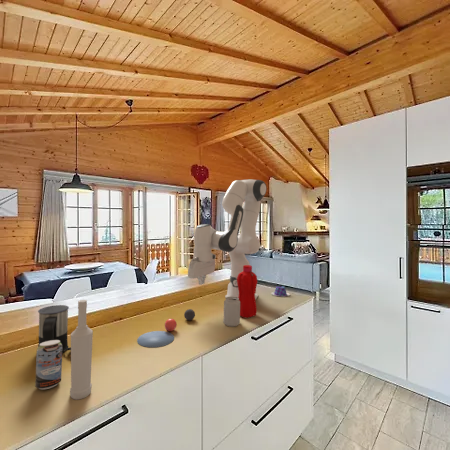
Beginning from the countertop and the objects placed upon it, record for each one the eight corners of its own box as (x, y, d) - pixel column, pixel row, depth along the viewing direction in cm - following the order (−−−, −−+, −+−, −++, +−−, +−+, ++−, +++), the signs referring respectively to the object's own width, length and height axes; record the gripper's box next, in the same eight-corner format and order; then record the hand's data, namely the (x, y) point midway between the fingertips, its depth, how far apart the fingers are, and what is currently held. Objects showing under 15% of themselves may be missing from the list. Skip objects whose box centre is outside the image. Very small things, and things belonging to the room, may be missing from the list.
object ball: (169, 327, 117) (169, 316, 116) (178, 329, 114) (179, 318, 114) (161, 331, 112) (162, 319, 112) (171, 334, 110) (171, 322, 110)
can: (238, 328, 118) (239, 301, 118) (221, 326, 119) (222, 299, 119) (240, 321, 125) (241, 296, 125) (225, 320, 127) (225, 295, 127)
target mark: (154, 328, 115) (154, 328, 115) (181, 336, 108) (181, 335, 108) (129, 341, 102) (129, 341, 102) (157, 350, 96) (157, 350, 96)
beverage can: (35, 396, 70) (35, 351, 70) (35, 382, 76) (35, 340, 76) (63, 388, 74) (63, 345, 74) (60, 375, 80) (61, 335, 80)
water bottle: (247, 320, 127) (249, 268, 126) (233, 313, 136) (234, 264, 135) (261, 317, 132) (263, 266, 132) (247, 310, 141) (248, 263, 141)
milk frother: (35, 349, 95) (36, 307, 94) (85, 337, 105) (85, 299, 104) (40, 367, 84) (41, 320, 83) (94, 352, 94) (95, 310, 94)
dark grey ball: (188, 317, 129) (188, 307, 129) (196, 319, 127) (197, 308, 127) (181, 320, 125) (182, 310, 124) (190, 322, 122) (191, 312, 122)
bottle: (66, 395, 71) (67, 301, 70) (85, 385, 75) (86, 296, 75) (76, 402, 68) (77, 305, 68) (95, 392, 72) (97, 300, 72)
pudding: (293, 297, 170) (293, 288, 170) (276, 298, 166) (277, 289, 166) (283, 291, 182) (284, 284, 181) (267, 292, 178) (268, 285, 178)
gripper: (196, 259, 123) (195, 289, 123) (217, 255, 141) (216, 281, 142) (185, 258, 126) (184, 287, 126) (207, 254, 144) (206, 279, 145)
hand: (201, 284), depth 134 cm, fingers closed
